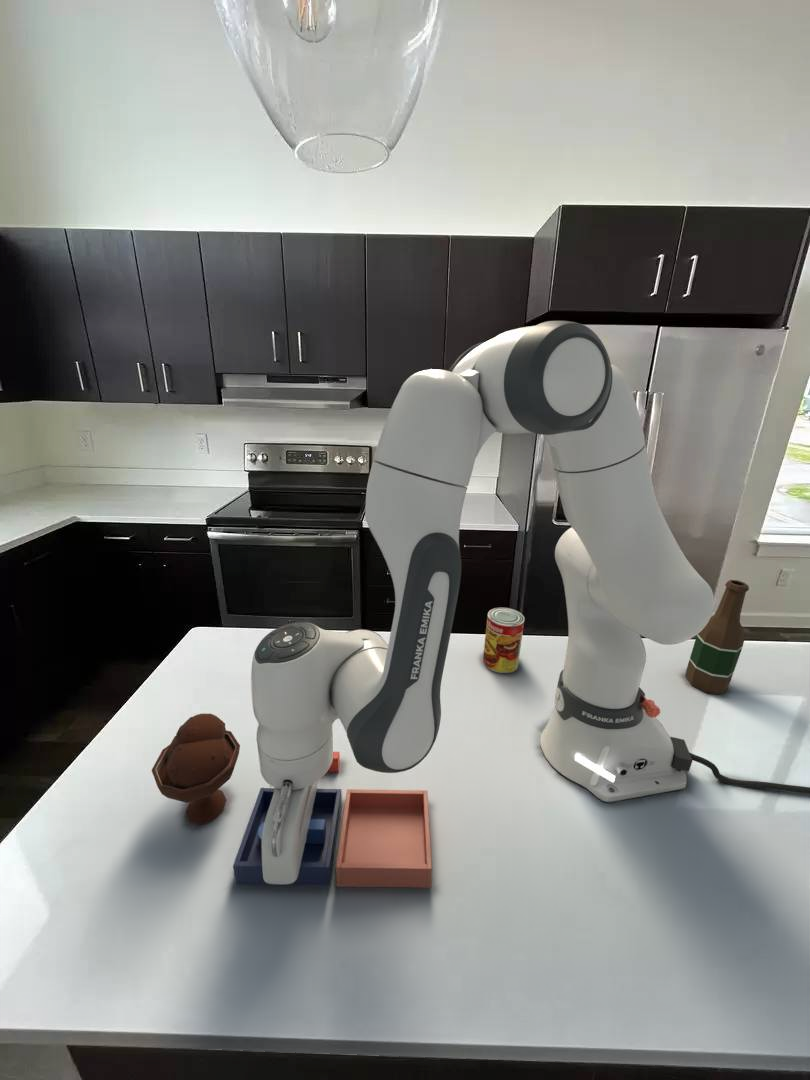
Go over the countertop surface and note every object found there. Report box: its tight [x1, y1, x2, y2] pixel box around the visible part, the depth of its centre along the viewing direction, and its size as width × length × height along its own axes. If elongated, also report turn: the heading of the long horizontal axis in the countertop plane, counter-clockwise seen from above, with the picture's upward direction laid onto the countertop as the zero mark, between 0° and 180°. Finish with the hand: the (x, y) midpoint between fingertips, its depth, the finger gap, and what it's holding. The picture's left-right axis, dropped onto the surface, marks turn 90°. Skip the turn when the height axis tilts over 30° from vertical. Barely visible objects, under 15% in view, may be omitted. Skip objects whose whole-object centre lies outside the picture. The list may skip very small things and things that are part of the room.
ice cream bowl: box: [151, 713, 241, 826], centre depth 60 cm, size 11×11×15 cm
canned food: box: [482, 606, 526, 674], centre depth 95 cm, size 8×8×12 cm
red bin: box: [335, 788, 433, 889], centre depth 57 cm, size 12×11×4 cm
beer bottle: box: [684, 579, 750, 696], centre depth 87 cm, size 8×8×24 cm
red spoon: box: [327, 751, 341, 773], centre depth 69 cm, size 9×3×3 cm, turn 90°
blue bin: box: [232, 787, 343, 887], centre depth 57 cm, size 12×11×4 cm
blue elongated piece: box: [258, 819, 326, 847], centre depth 57 cm, size 9×3×3 cm, turn 90°
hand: (302, 828), depth 57 cm, fingers closed on blue elongated piece
